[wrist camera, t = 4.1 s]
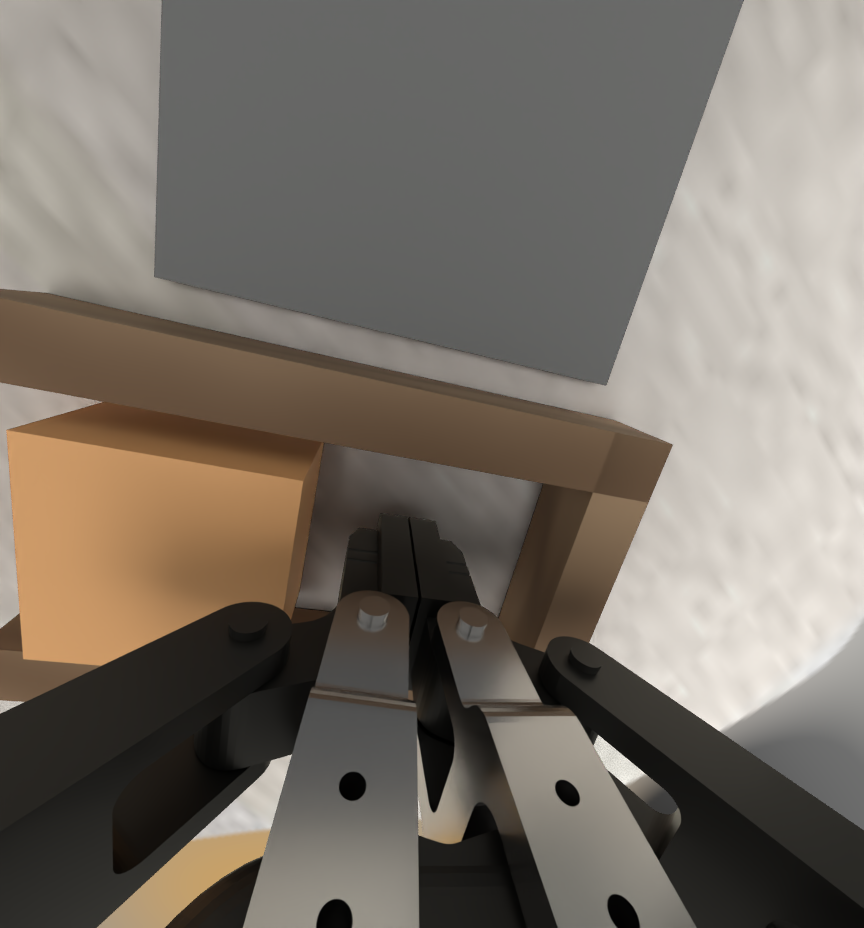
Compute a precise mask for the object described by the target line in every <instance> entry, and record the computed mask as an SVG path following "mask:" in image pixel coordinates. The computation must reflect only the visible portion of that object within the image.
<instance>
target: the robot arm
mask: <svg viewBox="0 0 864 928" xmlns="http://www.w3.org/2000/svg"><path fill="white" fill-rule="evenodd" d="M408 690H410V691H413V700H408ZM598 735H599V736H601V737H602V738H603V739H604V740H605V741H607V742H608V743H609V744H610V745H611V746H613V747H614V748H615V749H616V750H618V751H619V752H620V753H621V754H622V755H624V756H625V757H626V758H627V759H628V760H630V761H631V762H632V763H633V764H635V765H636V766H637V767H638V768H639V769H641V770H642V771H643V772H644V773H645V774H647V775H648V776H649V777H650V778H651V779H653V780H654V781H655V782H656V783H658V784H659V785H660V786H661V787H662V788H664V789H665V790H666V791H667V792H668V793H669V794H670V795H671V797H672V798H673V799H674V800H675V802H676V804H677V806H678V809H677V810H676V812H674V813H673V814H662V813H659V812H657V811H655V810H654V809H652V808H651V807H649V806H648V805H647V804H646V803H645V802H644V801H643V800H641V799H640V798H639V797H638V796H637V795H636V794H635V793H633V792H632V791H631V790H630V789H629V788H628V787H626V786H625V785H624V784H623V783H622V782H621V781H620V780H618V779H617V778H616V777H615V776H614V775H613V774H612V773H610V772H609V771H608V770H607V769H606V767H605V766H604V764H603V762H602V760H601V759H600V757H599V755H598V753H597V752H596V750H595V748H594V746H593V745H594V743H595V741H596V738H597V736H598ZM291 754H292V757H291V760H290V764H289V767H288V771H287V774H286V778H285V781H284V785H283V788H282V792H281V795H280V799H279V802H278V806H277V810H276V813H275V817H274V820H273V824H272V827H271V831H270V834H269V838H268V841H267V845H266V848H265V852H264V855H263V856H262V857H260V858H257V859H255V860H253V861H251V862H248V863H246V864H244V865H243V866H241V867H239V868H238V869H236V870H234V871H233V872H231V873H229V874H228V875H226V876H224V877H223V878H221V879H220V880H219V881H218V882H216V883H215V884H213V885H212V886H211V887H209V888H208V889H207V890H205V891H204V892H203V893H201V894H200V895H199V896H198V897H197V898H196V899H195V900H193V901H192V902H191V903H190V904H189V905H188V906H187V907H186V908H185V909H184V910H183V911H181V912H180V913H179V914H178V915H177V916H176V917H175V918H174V919H173V920H172V921H171V922H170V923H169V924H168V925H167V926H166V927H165V928H864V830H862V829H861V828H860V827H858V826H857V825H855V824H854V823H852V822H851V821H849V820H848V819H846V818H845V817H843V816H842V815H841V814H839V813H838V812H836V811H835V810H833V809H832V808H830V807H829V806H827V805H826V804H824V803H823V802H821V801H820V800H818V799H817V798H816V797H814V796H813V795H811V794H810V793H808V792H807V791H805V790H804V789H803V788H801V787H799V786H798V785H797V784H795V783H793V782H792V781H791V780H789V779H788V778H786V777H785V776H784V775H782V774H781V773H779V772H778V771H776V770H775V769H773V768H772V767H770V766H769V765H767V764H766V763H764V762H763V761H761V760H760V759H759V758H757V757H756V756H754V755H753V754H751V753H750V752H749V751H747V750H746V749H744V748H743V747H741V746H740V745H738V744H737V743H735V742H734V741H732V740H731V739H729V738H728V737H727V736H725V735H724V734H722V733H721V732H719V731H718V730H716V729H715V728H713V727H712V726H711V725H709V724H708V723H706V722H705V721H703V720H702V719H700V718H699V717H697V716H696V715H694V714H693V713H692V712H690V711H689V710H687V709H686V708H684V707H683V706H681V705H680V704H678V703H677V702H675V701H674V700H673V699H671V698H670V697H668V696H667V695H665V694H664V693H662V692H661V691H659V690H658V689H657V688H655V687H654V686H652V685H651V684H649V683H648V682H646V681H645V680H643V679H642V678H640V677H639V676H638V675H636V674H635V673H633V672H632V671H630V670H629V669H627V668H626V667H624V666H623V665H621V664H620V663H619V662H617V661H616V660H614V659H613V658H611V657H610V656H608V655H607V654H605V653H604V652H602V651H601V650H600V649H598V648H596V647H595V646H593V645H592V644H590V643H588V642H586V641H583V640H581V639H577V638H574V637H568V636H560V637H556V638H554V639H552V640H551V641H550V642H549V644H548V646H547V649H546V651H545V652H542V651H539V650H536V649H534V648H531V647H528V646H525V645H522V644H519V643H517V642H514V641H512V640H510V638H509V636H508V634H507V632H506V630H505V628H504V626H503V624H502V623H501V621H500V620H499V619H498V617H496V616H495V615H494V614H493V613H492V612H490V611H489V610H487V609H486V608H484V607H482V606H481V605H480V602H479V599H478V596H477V594H476V591H475V588H474V585H473V582H472V579H471V577H470V576H469V571H468V568H467V566H466V562H465V559H464V557H463V554H462V552H461V551H460V550H459V549H458V548H457V547H456V546H455V545H454V544H453V543H452V542H451V541H447V540H440V537H439V533H438V530H437V526H436V523H435V521H431V520H424V519H418V518H411V517H409V518H407V517H404V516H398V515H391V514H385V513H381V514H380V517H379V521H378V526H377V530H371V529H364V528H358V529H357V530H356V531H355V532H354V533H353V534H352V535H350V536H349V542H348V547H347V553H346V558H345V563H344V569H343V574H342V580H341V585H340V591H339V598H338V604H337V606H336V608H335V609H334V610H333V611H332V612H330V613H329V614H327V615H326V616H324V617H321V618H319V619H316V620H313V621H308V622H301V623H294V624H292V622H291V620H290V617H289V616H288V615H287V614H286V613H285V612H284V611H283V610H282V609H280V608H278V607H276V606H274V605H271V604H268V603H263V602H241V603H236V604H232V605H229V606H226V607H224V608H222V609H219V610H217V611H215V612H213V613H211V614H209V615H207V616H205V617H203V618H201V619H198V620H196V621H194V622H192V623H190V624H188V625H186V626H184V627H182V628H180V629H177V630H175V631H173V632H171V633H169V634H167V635H165V636H163V637H161V638H159V639H156V640H154V641H152V642H150V643H148V644H146V645H144V646H142V647H140V648H138V649H135V650H133V651H131V652H129V653H127V654H125V655H123V656H121V657H119V658H117V659H115V660H112V661H110V662H108V663H106V664H104V665H102V666H100V667H98V668H96V669H94V670H91V671H89V672H87V673H85V674H83V675H81V676H79V677H77V678H75V679H73V680H70V681H68V682H66V683H64V684H62V685H60V686H58V687H56V688H54V689H52V690H49V691H47V692H45V693H43V694H41V695H39V696H37V697H35V698H33V699H31V700H28V701H26V702H24V703H22V704H20V705H18V706H16V707H14V708H12V709H10V710H7V711H5V712H3V713H1V714H0V928H97V927H98V926H99V925H100V924H101V923H102V922H103V921H104V920H105V919H106V918H107V917H108V916H110V915H111V914H112V913H113V912H114V911H115V910H116V909H117V908H118V907H119V906H120V905H122V904H123V903H124V902H125V901H126V900H127V899H128V898H129V897H130V896H131V895H132V894H133V893H135V891H137V890H138V889H139V888H140V887H141V886H142V885H143V884H144V883H145V882H146V881H147V880H149V879H150V878H151V877H152V876H153V875H154V874H155V873H156V872H157V871H158V870H159V869H160V868H162V867H163V866H164V865H165V864H166V863H167V862H168V861H169V860H170V859H171V858H172V857H173V856H175V855H176V854H177V853H178V852H179V851H180V850H181V849H182V848H183V847H184V846H185V845H186V844H188V843H189V842H190V841H191V840H192V839H193V838H194V837H195V836H196V835H197V834H198V833H199V832H201V831H202V830H203V829H204V828H205V827H206V826H207V825H208V824H209V823H210V822H211V821H212V820H214V819H215V818H216V817H217V816H218V815H219V814H220V813H221V812H222V811H223V810H224V809H225V808H227V807H228V806H229V805H230V804H231V803H232V802H233V801H234V800H235V799H236V798H237V797H238V796H239V795H241V794H242V793H243V792H244V791H245V790H246V789H247V788H248V787H249V786H250V785H251V784H252V783H254V782H255V781H256V780H257V779H258V778H259V777H260V776H261V775H262V774H263V773H264V772H265V770H266V769H267V767H268V766H269V764H270V762H271V760H274V759H277V758H281V757H284V756H288V755H291ZM418 798H419V805H420V812H421V819H422V828H423V837H422V836H419V835H418Z"/></svg>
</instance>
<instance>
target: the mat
mask: <svg viewBox="0 0 864 928" xmlns="http://www.w3.org/2000/svg"><path fill="white" fill-rule="evenodd" d="M743 1H744V0H162V15H161V51H160V88H159V124H158V160H157V196H156V232H155V268H154V277H157V278H161V279H165V280H169V281H173V282H177V283H182V284H186V285H190V286H194V287H198V288H202V289H206V290H211V291H215V292H219V293H223V294H227V295H231V296H236V297H240V298H244V299H248V300H252V301H256V302H261V303H265V304H269V305H273V306H277V307H281V308H285V309H290V310H294V311H298V312H302V313H306V314H310V315H315V316H319V317H323V318H327V319H331V320H335V321H340V322H344V323H348V324H352V325H356V326H360V327H364V328H369V329H373V330H377V331H381V332H385V333H389V334H394V335H398V336H402V337H406V338H410V339H414V340H418V341H423V342H427V343H431V344H435V345H439V346H443V347H448V348H452V349H456V350H460V351H464V352H468V353H473V354H477V355H481V356H485V357H489V358H493V359H497V360H502V361H506V362H510V363H514V364H518V365H522V366H527V367H531V368H535V369H539V370H543V371H547V372H552V373H556V374H560V375H564V376H568V377H572V378H576V379H581V380H585V381H589V382H593V383H597V384H601V385H607V382H608V379H609V376H610V373H611V371H612V368H613V365H614V362H615V359H616V357H617V354H618V351H619V348H620V345H621V343H622V340H623V337H624V334H625V331H626V329H627V326H628V323H629V320H630V317H631V315H632V312H633V309H634V306H635V303H636V301H637V298H638V295H639V292H640V289H641V287H642V284H643V281H644V278H645V275H646V273H647V270H648V267H649V264H650V261H651V259H652V256H653V253H654V250H655V247H656V245H657V242H658V239H659V236H660V233H661V231H662V228H663V225H664V222H665V219H666V217H667V214H668V211H669V208H670V205H671V203H672V200H673V197H674V194H675V191H676V189H677V186H678V183H679V180H680V177H681V175H682V172H683V169H684V166H685V163H686V161H687V158H688V155H689V152H690V149H691V147H692V144H693V141H694V138H695V135H696V133H697V130H698V127H699V124H700V121H701V118H702V116H703V113H704V110H705V107H706V104H707V102H708V99H709V96H710V93H711V90H712V88H713V85H714V82H715V79H716V76H717V74H718V71H719V68H720V65H721V62H722V60H723V57H724V54H725V51H726V48H727V46H728V43H729V40H730V37H731V34H732V32H733V29H734V26H735V23H736V20H737V18H738V15H739V12H740V9H741V6H742V4H743Z"/></svg>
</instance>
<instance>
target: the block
mask: <svg viewBox="0 0 864 928" xmlns="http://www.w3.org/2000/svg"><path fill="white" fill-rule="evenodd" d="M6 431H7V445H8V458H9V472H10V486H11V499H12V513H13V527H14V540H15V554H16V568H17V581H18V595H19V609H20V622H21V636H22V650H23V659H27V660H39V661H51V662H63V663H75V664H87V665H99V666H102V665H104V664H106V663H108V662H110V661H112V660H115V659H117V658H119V657H121V656H123V655H125V654H127V653H129V652H131V651H133V650H135V649H138V648H140V647H142V646H144V645H146V644H148V643H150V642H152V641H154V640H156V639H159V638H161V637H163V636H165V635H167V634H169V633H171V632H173V631H175V630H177V629H180V628H182V627H184V626H186V625H188V624H190V623H192V622H194V621H196V620H198V619H201V618H203V617H205V616H207V615H209V614H211V613H213V612H215V611H217V610H219V609H222V608H224V607H226V606H229V605H232V604H236V603H241V602H263V603H268V604H271V605H274V606H276V607H278V608H280V609H282V610H283V611H284V612H285V613H286V614H287V615H288V616H289V617H290V620H291V618H292V614H293V611H294V608H295V604H296V601H297V598H298V595H299V591H300V585H301V579H302V573H303V567H304V561H305V555H306V549H307V542H308V536H309V530H310V524H311V518H312V512H313V506H314V500H315V494H316V488H317V482H318V475H319V469H320V463H321V457H322V451H323V445H324V442H318V441H313V440H308V439H302V438H297V437H292V436H286V435H281V434H275V433H270V432H265V431H259V430H254V429H249V428H243V427H238V426H232V425H227V424H222V423H216V422H211V421H205V420H200V419H195V418H189V417H184V416H179V415H173V414H168V413H162V412H157V411H152V410H146V409H141V408H136V407H130V406H125V405H119V404H114V403H109V402H102V403H99V404H95V405H92V406H88V407H85V408H81V409H78V410H75V411H71V412H68V413H64V414H61V415H57V416H54V417H50V418H47V419H43V420H40V421H36V422H33V423H29V424H26V425H22V426H19V427H15V428H12V429H8V430H6Z"/></svg>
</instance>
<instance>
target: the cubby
mask: <svg viewBox="0 0 864 928" xmlns="http://www.w3.org/2000/svg"><path fill="white" fill-rule="evenodd" d="M0 382H1V383H7V384H12V385H17V386H23V387H28V388H33V389H39V390H44V391H50V392H55V393H60V394H66V395H71V396H76V397H82V398H87V399H93V400H98V401H103V402H109V403H114V404H119V405H125V406H130V407H136V408H141V409H146V410H152V411H157V412H162V413H168V414H173V415H179V416H184V417H189V418H195V419H200V420H205V421H211V422H216V423H222V424H227V425H232V426H238V427H243V428H249V429H254V430H259V431H265V432H270V433H275V434H281V435H286V436H292V437H297V438H302V439H308V440H313V441H318V442H324V443H329V444H335V445H340V446H345V447H351V448H356V449H361V450H367V451H372V452H378V453H383V454H388V455H394V456H399V457H404V458H410V459H415V460H421V461H426V462H431V463H437V464H442V465H447V466H453V467H458V468H464V469H469V470H474V471H480V472H485V473H491V474H496V475H501V476H507V477H512V478H517V479H523V480H528V481H534V482H539V483H544V484H543V487H542V490H541V493H540V496H539V499H538V502H537V505H536V508H535V511H534V514H533V517H532V520H531V523H530V526H529V529H528V532H527V535H526V538H525V541H524V544H523V547H522V550H521V553H520V556H519V559H518V562H517V565H516V568H515V571H514V574H513V577H512V580H511V583H510V585H509V588H508V591H507V594H506V597H505V600H504V603H503V606H502V609H501V612H500V615H499V618H498V619H499V620H500V621H501V623H502V624H503V626H504V628H505V630H506V632H507V634H508V636H509V638H510V640H512V641H514V642H517V643H519V644H522V645H525V646H528V647H531V648H534V649H536V650H539V651H542V652H545V651H546V649H547V646H548V644H549V642H550V641H551V640H552V639H554V638H556V637H560V636H568V637H574V638H577V639H581V640H583V641H586V642H588V643H589V641H590V639H591V637H592V634H593V632H594V630H595V627H596V625H597V623H598V620H599V618H600V616H601V613H602V611H603V608H604V606H605V604H606V601H607V599H608V597H609V594H610V592H611V590H612V587H613V585H614V582H615V580H616V578H617V575H618V573H619V571H620V568H621V566H622V564H623V561H624V559H625V556H626V554H627V552H628V549H629V547H630V545H631V542H632V540H633V538H634V535H635V533H636V530H637V528H638V526H639V523H640V521H641V519H642V516H643V514H644V512H645V509H646V507H647V504H648V502H649V500H650V497H651V495H652V493H653V490H654V488H655V486H656V483H657V481H658V478H659V476H660V474H661V471H662V469H663V467H664V464H665V462H666V460H667V457H668V455H669V453H670V450H671V448H672V444H670V443H667V442H665V441H663V440H660V439H658V438H656V437H653V436H651V435H648V434H646V433H644V432H641V431H639V430H636V429H634V428H632V427H629V426H627V425H625V424H622V423H620V422H617V421H615V420H610V419H606V418H602V417H597V416H593V415H588V414H584V413H579V412H575V411H570V410H566V409H561V408H557V407H552V406H548V405H544V404H539V403H535V402H530V401H526V400H521V399H517V398H512V397H508V396H503V395H499V394H494V393H490V392H486V391H481V390H477V389H472V388H468V387H463V386H459V385H454V384H450V383H445V382H441V381H436V380H432V379H428V378H423V377H419V376H414V375H410V374H405V373H401V372H396V371H392V370H387V369H383V368H378V367H374V366H370V365H365V364H361V363H356V362H352V361H347V360H343V359H338V358H334V357H329V356H325V355H320V354H316V353H312V352H307V351H303V350H298V349H294V348H289V347H285V346H280V345H276V344H271V343H267V342H262V341H258V340H254V339H249V338H245V337H240V336H236V335H231V334H227V333H222V332H218V331H213V330H209V329H204V328H200V327H196V326H191V325H187V324H182V323H178V322H173V321H169V320H164V319H160V318H155V317H151V316H146V315H142V314H138V313H133V312H129V311H124V310H120V309H115V308H111V307H106V306H102V305H97V304H93V303H88V302H84V301H80V300H75V299H71V298H66V297H62V296H57V295H53V294H48V293H40V292H29V291H17V290H6V289H0ZM329 613H330V612H327V611H318V610H309V609H300V608H294V611H293V614H292V618H291V622H292V624H294V623H301V622H308V621H313V620H316V619H319V618H321V617H324V616H326V615H327V614H329ZM98 667H100V666H99V665H87V664H75V663H63V662H51V661H39V660H27V659H23V650H22V636H21V622H20V613H19V614H18V615H17V616H16V617H15V618H13V619H12V620H11V621H10V622H8V623H7V624H6V625H5V626H3V627H2V628H1V629H0V700H6V701H22V702H26V701H28V700H31V699H33V698H35V697H37V696H39V695H41V694H43V693H45V692H47V691H49V690H52V689H54V688H56V687H58V686H60V685H62V684H64V683H66V682H68V681H70V680H73V679H75V678H77V677H79V676H81V675H83V674H85V673H87V672H89V671H91V670H94V669H96V668H98ZM408 700H413V691H410V690H408Z"/></svg>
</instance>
